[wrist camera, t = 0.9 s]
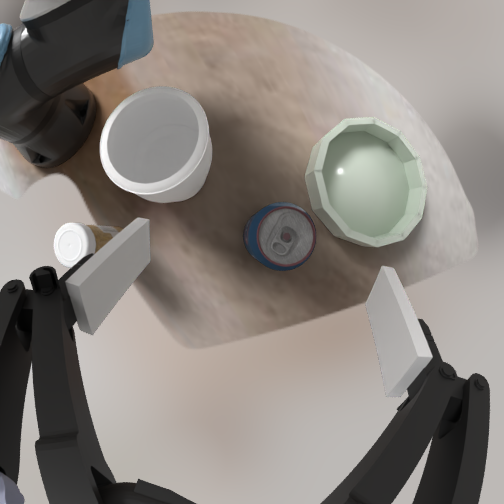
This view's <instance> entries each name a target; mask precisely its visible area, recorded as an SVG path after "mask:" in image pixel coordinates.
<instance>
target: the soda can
mask: <svg viewBox="0 0 504 504" xmlns="http://www.w3.org/2000/svg"><path fill="white" fill-rule="evenodd" d="M243 239H244V244H245V247H246V249H247V250H248V252H249V253H250V254H251V255H252V256H253V257H254V258H255V259H257V260H258V261H259V262H261V263H262V264H263V265H265V266H267V267H269V268H271V269H274V270H279V271H286V270H291V269H294V268H297V267H299V266H300V265H302V264H303V263H304V262H305V261H306V260H307V259H308V258H309V257H310V255H311V254H312V252H313V250H314V247H315V243H316V230H315V226H314V223H313V221H312V219H311V218H310V216H309V215H308V214H307V212H306V211H304V210H303V209H302V208H301V207H299V206H297V205H295V204H292V203H287V202H278V203H273V204H270V205H268V206H266V207H264V208H263V209H262V210H260V211H259V212H257V213H256V214H254V215H253V216H252V217H251V218H250V219H249V220H248V222H247V224H246V226H245V228H244V234H243Z"/></svg>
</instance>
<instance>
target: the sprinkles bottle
mask: <svg viewBox="0 0 504 504" xmlns="http://www.w3.org/2000/svg"><path fill="white" fill-rule="evenodd" d="M122 230H123V228H121V227H117V226H114V227H111V226H99V225H85V224H83V223H76V222H71V223H67V224H64V225H63V226H62V227H61V228H60V229H59V230H58V231H57V233H56V236H55V239H54V251H55V255H56V257H57V259H58V260H59V262H60V263H61V264H62V265H64V266H65V267H68V268H72V267H73V266H74V265H75V264H77V262H78V261H79V260H81V259H82V258H83V257H85V256H87V255H89V254H91V253H93V254H95V253H96V252H98V251H99V250H100V249H101V248H102V247H103V246H104V245H105V244H107V243H108V242H109V241H110V240H111V239H112V238H114V237H115V236H116V235H117V234H118V233H119V232H121V231H122Z"/></svg>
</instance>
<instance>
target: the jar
mask: <svg viewBox="0 0 504 504" xmlns="http://www.w3.org/2000/svg"><path fill="white" fill-rule="evenodd" d="M100 158H101V162H102V165H103V168H104V170H105V172H106V174H107V175H108V177H109V178H110V179H111V180H112V181H113V182H114V183H115V184H116V185H117V186H119V187H120V188H122V189H124V190H126V191H129V192H132V193H135V194H136V195H138V196H140V197H141V198H144V199H146V200H149V201H153V202H159V203H169V202H178V201H184V200H187V199H189V198H191V197H192V196H194V195H195V194H196V193H197V192H198V191H199V190H200V189H201V188H202V186H203V185H204V183H205V180H206V177H207V174H208V172H209V169H210V166H211V161H212V143H211V138H210V135H209V125H208V120H207V117H206V114H205V112H204V110H203V108H202V106H201V105H200V104H199V102H198V101H197V100H196V99H195V98H194V97H193V96H191V95H190V94H188V93H187V92H185V91H183V90H180V89H177V88H174V87H167V86H158V87H151V88H147V89H144V90H141V91H138V92H136V93H134V94H133V95H131V96H129V97H128V98H126V99H125V100H124V101H123V102H121V103H120V104H119V105H118V106H117V107H116V108H115V110H114V111H113V112H112V113H111V115H110V116H109V118H108V120H107V121H106V124H105V126H104V128H103V131H102V134H101V139H100Z"/></svg>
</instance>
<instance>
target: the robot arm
mask: <svg viewBox="0 0 504 504" xmlns="http://www.w3.org/2000/svg"><path fill="white" fill-rule="evenodd" d="M20 19H21V21H22V22H23V24H21V25H20V26H18V27H17V28H15V29H12V27H11V25H7V24H5V23H3V24H0V138H1V139H3V140H6V141H8V142H11V143H13V144H14V145H15V147H16V148H17V149H18V150H19V152H20V153H21V154H22V155H23V157H24V158H25V159H26V160H27V161H28V162H30V163H32V164H34V165H37V166H39V167H43V168H50V167H54V166H57V165H60V164H62V163H63V162H65V161H67V160H68V159H69V158H71V157H72V156H73V155H74V154H75V153H76V152H77V151H78V150H79V149H80V147H81V146H82V145H83V143H84V142H85V140H86V139H87V137H88V135H89V133H90V131H91V129H92V126H93V123H94V119H95V114H96V103H95V99H94V96H93V94H92V92H91V91H90V90H89V89H88V88H87V87H86V86H85V85H84V84H83V83H84V82H86V81H88V80H90V79H92V78H94V77H97V76H99V75H101V74H104V73H106V72H108V71H111V70H113V69H115V68H117V69H120V68H121V67H122V66H123V65H125V64H128V63H130V62H133V61H135V60H138V59H140V58H143V57H144V56H146V55H147V54H148V53H149V52H150V51H151V49H152V47H153V43H154V40H153V30H152V20H151V11H150V1H149V0H26V1H25V3H24V6H23V9H22V11H21V14H20ZM150 261H151V257H150V225H149V219H145V218H139V217H138V218H136V219H135V220H134V221H133V222H131V223H130V224H129V225H128V226H127V227H125V228H124V229H123V230H122V231H121V232H119V233H118V234H117V235H116V236H115V237H114V238H112V239H111V240H110V241H109V242H108V243H107V244H105V245H104V246H103V247H102V248H101V249H100V250H99V251H98V252H96V253H95V254H93V253H91V254H89V255H87V256H85V257H83V258H82V259H81V260H79V261H78V262H77V264H75V265H74V266H73V267H72V269H69V270H68V271H67V272H66V273H65V274H64V275H63V276H62V277H61V278H60V279H59V280H58V278H57V274H56V270H55V269H54V268H53V267H50V266H43V267H40V268H37V269H36V270H34V271H33V272H32V273H31V274H30V277H29V278H30V281H31V284H32V287H33V290H28V289H25V286H24V283H23V282H22V281H21V280H17V279H16V280H11V281H9V282H8V283H6V284H5V285H4V286H3V288H2V289H1V291H0V504H24V497H23V495H22V494H21V493H20V491H19V489H18V486H17V481H18V474H19V463H20V442H21V428H22V418H23V409H24V402H25V395H26V389H27V383H28V378H29V373H30V368H31V363H32V371H33V387H34V398H35V407H36V415H37V421H38V428H39V435H40V438H39V440H37V441H36V442H35V450H36V455H37V461H38V465H39V469H40V473H41V477H42V481H43V484H44V488H45V491H46V494H47V497H48V500H49V504H196V503H194V502H192V501H190V500H188V499H186V498H184V497H182V496H180V495H178V494H177V493H175V492H173V491H171V490H169V489H166V488H163V487H160V486H157V485H154V484H151V483H148V482H145V481H143V480H140V479H138V481H137V483H130V482H129V483H128V482H123V483H116V481H115V478H114V476H113V474H112V472H111V470H110V468H109V467H108V465H107V463H106V461H105V459H104V456H103V454H102V451H101V448H100V445H99V442H98V439H97V435H96V432H95V429H94V426H93V422H92V418H91V415H90V411H89V407H88V403H87V399H86V395H85V391H84V386H83V381H82V376H81V371H80V367H79V360H78V354H77V348H76V341H75V333H74V329H73V325H74V324H75V322H76V321H77V323H78V326H79V329H80V330H81V331H83V332H86V333H88V334H91V335H93V334H94V333H95V331H96V330H97V329H98V327H99V326H100V325H101V323H102V322H103V320H104V319H105V318H106V317H107V315H108V313H110V311H111V310H112V309H113V307H114V306H115V305H116V303H117V302H118V301H119V300H120V298H121V297H122V296H123V295H124V293H125V292H126V291H127V289H128V288H129V287H130V286H131V284H132V283H133V282H134V281H135V279H136V278H137V277H138V276H139V275H140V273H141V272H142V271H143V270H144V268H145V267H146V266H147V265H148V264H149V262H150ZM365 306H366V309H367V313H368V317H369V321H370V325H371V329H372V333H373V337H374V341H375V345H376V349H377V354H378V359H379V363H380V368H381V373H382V378H383V383H384V388H385V394H386V397H401V395H402V394H403V393H404V392H405V391H406V390H408V395H409V396H408V398H407V399H406V400H405V401H404V402H403V403H402V404H401V405H400V406H399V407H398V408H397V410H398V412H397V413H396V415H395V416H394V418H393V419H392V421H391V422H390V423H389V425H388V426H387V428H386V429H385V430H384V432H383V433H382V434H381V436H380V437H379V438H378V440H377V441H376V443H375V444H374V445H373V446H372V448H371V449H370V450H369V451H368V453H367V454H366V455H365V456H364V458H363V459H362V460H361V461H360V462H359V464H358V465H357V466H356V467H355V468H354V469H353V470H352V472H351V473H350V474H349V475H348V476H347V477H346V478H345V479H344V480H343V482H342V483H341V484H340V485H339V486H338V487H337V488H336V489H335V490H334V491H333V492H332V493H331V494H330V495H329V496H328V497H327V498H326V499H325V500H324V501H323V502H322V503H321V504H391V503H392V502H393V501H394V499H395V498H396V496H397V495H398V494H399V492H400V491H401V489H402V488H403V486H404V485H405V483H406V482H407V480H408V479H409V477H410V475H411V474H412V472H413V471H414V469H415V467H416V465H417V464H418V462H419V460H420V459H421V457H422V455H423V453H424V452H425V450H426V448H427V446H428V444H429V442H430V440H431V438H432V437H433V438H432V442H431V446H430V451H429V454H428V458H427V462H426V465H425V468H424V472H423V475H422V478H421V481H420V484H419V487H418V490H417V493H416V495H415V498H414V501H413V503H412V504H478V502H479V498H480V493H481V488H482V483H483V477H484V472H485V464H486V457H487V448H488V436H489V418H490V417H489V416H490V389H489V384H488V382H487V380H486V379H485V377H483V376H482V375H480V374H477V373H475V374H472V375H471V377H470V378H469V379H468V380H466V379H463V378H460V377H457V374H456V371H455V370H454V368H453V367H452V366H451V365H449V364H448V363H446V362H443V361H442V359H441V356H440V354H439V351H438V348H437V346H436V344H435V342H434V339H433V337H432V336H431V332H430V330H429V327H428V326H427V324H426V323H425V322H424V321H423V320H422V319H417V317H416V314H415V312H414V310H413V307H412V305H411V303H410V301H409V299H408V297H407V294H406V292H405V290H404V288H403V286H402V284H401V282H400V280H399V278H398V276H397V274H396V272H395V270H394V268H392V267H387V266H382V267H381V269H380V271H379V274H378V276H377V279H376V281H375V283H374V286H373V288H372V290H371V292H370V295H369V297H368V299H367V301H366V303H365Z"/></svg>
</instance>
